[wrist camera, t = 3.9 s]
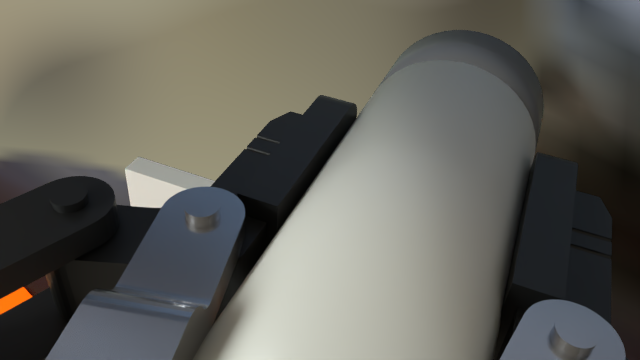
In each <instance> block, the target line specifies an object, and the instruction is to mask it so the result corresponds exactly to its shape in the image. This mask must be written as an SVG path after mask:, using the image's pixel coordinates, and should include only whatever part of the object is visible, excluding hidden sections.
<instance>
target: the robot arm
mask: <svg viewBox="0 0 640 360" xmlns="http://www.w3.org/2000/svg"><path fill="white" fill-rule="evenodd" d="M356 117H357V107H356V104H354V103H350V102H346V101H343V100H338V99H335V98H331V97H327V96H324V95H320V96H319V97H318V98H317V99H316V100H315V101H314V102H313V103H312V105H311V106H310V107H309V108H308V109H307V111H306V112H305V113H304V114H303V115H301V114H298V113H294V112H289V113H286V114H284V115H282V116H280V117H278V118H276V119H274V120H272V121H270V122H269V123H268V124H267V125H266V126H265V127H264V129H263V130H262V131H261V132H260V133H259V134H258V135H257V138H254V140H253V141H252V142H251V143H250V144H249V145H248V146H247V149H244V150H243V152H242V153H241V154H240V155H239V156H238V157H237V158H236V159H235V160H234V161H233V162H232V163H231V165H230V166H229V167H228V168H227V169H226V170H225V171H224V172H223V173H222V174H221V176H220V177H219V178H218V179H217V180H216V181H215V182H214V183H213V184H212V185H211V186H210V187H194V188H190V189H186V190H183V191H181V192H179V193H177V194H175V195H173V196H172V197H170V198H169V199H168V200H167V201H166V202H165V203H164V205H163V206H162V207H161V208H150V207H136V206H123V205H116V200H115V195H114V191H113V189H112V188H111V187H110V186H109V184H107V183H106V182H104V181H102V180H100V179H97V178H93V177H87V176H74V177H66V178H62V179H58V180H55V181H52V182H50V183H47V184H45V185H43V186H40V187H38V188H36V189H34V190H31V191H29V192H27V193H24V194H22V195H20V196H18V197H15V198H13V199H11V200H8V201H6V202H4V203H2V204H0V299H1V298H3V297H5V296H7V295H9V294H11V293H13V292H15V291H16V290H18V289H20V288H22V287H24V286H26V285H28V284H30V283H31V282H33V281H35V280H37V279H39V278H41V277H43V276H45V275H46V279H47V282H48V285H49V288H48V289H46V290H44V291H42V292H40V293H39V294H37V295H35V296H33V297H31V298H29V299H28V300H26V301H24V302H22V303H20V304H18V305H17V306H15V307H13V308H11V309H9V310H8V311H6V312H4V313H2V314H0V360H193V358H194V357H195V355H196V353H197V351H198V349H199V347H200V346H201V344H202V342H203V340H204V339H205V337H206V336H207V334H208V332H209V331H210V329H211V328H212V326H213V324H214V323H215V321H216V320H217V319H218V317H219V316H220V314H221V313H222V311H223V310H224V309H225V307H226V306H227V304H228V303H229V301H230V300H231V298H232V297H233V296H234V294H235V293H236V291H237V290H238V288H239V287H240V285H241V284H242V283H243V281H244V280H245V278H246V277H247V275H248V274H249V272H250V271H251V270H252V268H253V267H254V265H255V264H256V262H257V261H258V260H259V258H260V257H261V255H262V254H263V252H264V251H265V249H266V248H267V247H268V245H269V244H270V242H271V241H272V239H273V238H274V236H275V235H276V234H277V232H278V231H279V229H280V228H281V226H282V225H283V223H284V222H285V221H286V219H287V218H288V216H289V215H290V213H291V212H292V211H293V209H294V208H295V206H296V205H297V203H298V202H299V200H300V199H301V198H302V196H303V195H304V193H305V192H306V190H307V189H308V187H309V186H310V185H311V183H312V182H313V180H314V179H315V177H316V176H317V175H318V173H319V172H320V170H321V169H322V167H323V166H324V164H325V163H326V162H327V160H328V159H329V157H330V156H331V154H332V153H333V151H334V150H335V149H336V147H337V146H338V144H339V143H340V141H341V140H342V138H343V137H344V136H345V134H346V133H347V131H348V130H349V128H350V127H351V126H352V124H353V123H354V121H355V120H356ZM577 171H578V163H576V162H572V161H569V160H565V159H561V158H557V157H553V156H550V155H546V154H542V153H538V152H537V153H536V155H535V158H534V160H533V163H532V166H531V168H530V173H529V178H528V183H527V187H526V192H525V197H524V202H523V207H522V212H521V217H520V221H519V226H518V231H517V236H516V241H515V246H514V251H513V255H512V260H511V265H510V270H509V275H508V280H507V284H506V289H505V294H504V299H503V304H502V309H501V320H500V328H499V333H498V338H497V343H496V348H495V353H494V358H493V360H628V359H627V358H626V356H625V349H624V346H623V343H622V341H621V339H620V337H619V335H618V334H617V332H616V331H615V330H614V328H613V327H612V326H611V260H610V259H611V256H612V243H611V239H612V217H611V216H610V214H609V212H608V210H607V209H606V207H605V205H604V203H603V202H602V200H601V198H600V197H597V196H593V195H590V194H586V193H583V192H579V191H576V181H577Z"/></svg>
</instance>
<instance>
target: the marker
mask: <svg viewBox="0 0 640 360" xmlns="http://www.w3.org/2000/svg"><path fill="white" fill-rule="evenodd" d="M542 116H543V94H542V90H541V86H540V83H539V80H538V78H537V76H536V74H535V72H534V70H533V69H532V67H531V66H530V64H529V63H528V62H527V60H526V59H525V58H524V57H523V56H522V55H521V54H520V53H519V52H518V51H516V50H515V49H514V48H512V47H511V46H510V45H508V44H506V43H505V42H503V41H501V40H500V39H497V38H495V37H493V36H490V35H487V34H483V33H480V32H475V31H468V30H452V31H444V32H440V33H435V34H432V35H430V36H427V37H425V38H423V39H421V40H419V41H417V42H416V43H414V44H413V45H411V46H410V47H409V48H408V49H407V50H406V51H404V52H403V53H402V54H401V56H400V57H399V58H398V60H397V61H396V62H395V64H394V65H393V66H392V68H391V69H390V71H389V72H388V74H387V75H386V77H385V78H384V80H383V81H382V82H381V84H380V85H379V87H378V88H377V90H376V91H375V92H374V94H373V95H372V97H371V98H370V100H369V101H368V102H367V104H366V105H365V107H364V108H363V110H362V111H361V113H360V114H359V116H358V117H357V118H356V120H355V121H354V123H353V124H352V126H351V127H350V128H349V130H348V131H347V133H346V134H345V136H344V137H343V138H342V140H341V141H340V143H339V144H338V146H337V147H336V149H335V150H334V151H333V153H332V154H331V156H330V157H329V159H328V160H327V162H326V163H325V164H324V166H323V167H322V169H321V170H320V172H319V173H318V175H317V176H316V177H315V179H314V180H313V182H312V183H311V185H310V186H309V187H308V189H307V190H306V192H305V193H304V195H303V196H302V198H301V199H300V200H299V202H298V203H297V205H296V206H295V208H294V209H293V211H292V212H291V213H290V215H289V216H288V218H287V219H286V221H285V222H284V223H283V225H282V226H281V228H280V229H279V231H278V232H277V234H276V235H275V236H274V238H273V239H272V241H271V242H270V244H269V245H268V247H267V248H266V249H265V251H264V252H263V254H262V255H261V257H260V258H259V260H258V261H257V262H256V264H255V265H254V267H253V268H252V270H251V271H250V272H249V274H248V275H247V277H246V278H245V280H244V281H243V283H242V284H241V285H240V287H239V288H238V290H237V291H236V293H235V294H234V296H233V297H232V298H231V300H230V301H229V303H228V304H227V306H226V307H225V309H224V310H223V311H222V313H221V314H220V316H219V317H218V319H217V320H216V321H215V323H214V324H213V326H212V328H211V329H210V331H209V332H208V334H207V336H206V337H205V339H204V340H203V342H202V344H201V346H200V347H199V349H198V351H197V353H196V355H195V357H194V358H193V360H493V358H494V353H495V348H496V343H497V338H498V333H499V328H500V320H501V309H502V304H503V299H504V294H505V289H506V284H507V280H508V275H509V270H510V265H511V260H512V255H513V251H514V246H515V241H516V236H517V231H518V226H519V221H520V217H521V212H522V207H523V202H524V197H525V192H526V187H527V183H528V178H529V173H530V168H531V166H532V163H533V160H534V156H535V151H536V146H537V141H538V136H539V131H540V126H541V121H542Z"/></svg>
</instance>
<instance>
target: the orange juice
mask: <svg viewBox="0 0 640 360" xmlns="http://www.w3.org/2000/svg"><path fill="white" fill-rule="evenodd" d="M31 297H32V296H31V295H30V294H29V292H28V291H27V290H26V289H25V288H24V287H22V288H20V289H18V290H16V291H15V292H13V293H11V294H9V295H7V296H5V297H3V298H1V299H0V314H2V313H4V312H6V311H8V310H9V309H11V308H13V307H15V306H17V305H18V304H20V303H22V302H24V301H26V300H28V299H29V298H31Z"/></svg>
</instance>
